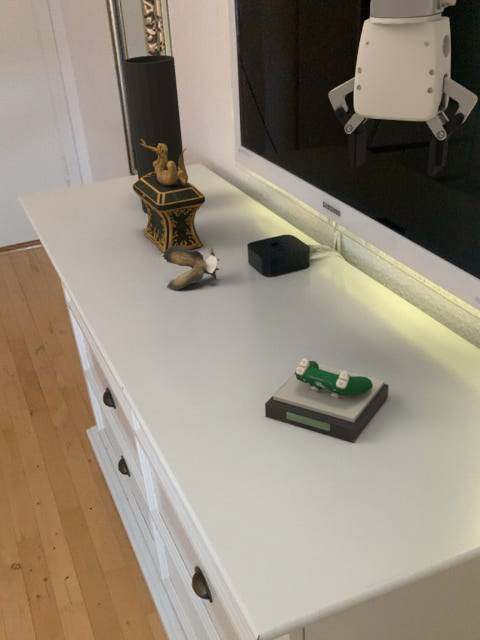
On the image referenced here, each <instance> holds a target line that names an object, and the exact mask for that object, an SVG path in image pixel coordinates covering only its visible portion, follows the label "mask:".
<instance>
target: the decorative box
mask: <svg viewBox="0 0 480 640" xmlns="http://www.w3.org/2000/svg"><path fill="white" fill-rule="evenodd" d="M141 140H142V142H143V144H141V143H140V144H141V145H143V146H145V147H146V148H149V149H151V150H153V151H155V152H156V153H157V154H158V159H157V160H156V161H154V162H153V166H154V167H155V172H150V173H149V174H147V175H145V176H143V177H141V178H140V179H137V180H136V181H135V182H133V184H132V190H133V191H134V192H135V194H136V195H137V196H138V198H140V200H141V199H142V200H143V202H144V203H145V205H146V208H147V211H148V213H147V219H148V220H147V224H146V227H145V231H144V236H145V237H146V238H148V240H150V241H151V242H152V244H154V246H156V247H157V248H158V249H159V250H160V251H161V252H162V253H163V254H164V252H165V251H166V249H168V247H172V246H175V245H176V246H177V245H179V246H180V245H181V246H182V247H185V248H187V249H190V250H194V249H198V248H201V247H202V246H203V242H202V240H201V238H200V236H199V234H198V232H197V230H196V229H197V228H196V226H195V217H196V214H197V212H198V210H199V209H201V207H202V206H203V205H204V203H205V202H206V196H205V195H204V194H203V192H202V191H200V190H199V189H198V188H197V187H196V186H195V185H194V184H192V183H191V182H189V175H188V172H187V169H186V168H187V167H186V165H185V161H184V162H183V159H182V155H183V156H184V153H185V152H186V150H187V147H185V148H184V149H183V152H182V154H181V155H180V159H179V162H178V165H179V167H178V171H177V168H176V165H175V163H174V162H173V161H169V162H168V159H167V153H168V148H167V146H166V144H162V143H159V144H158V146H157V148H155V147H151V146H147V145H146V143H145V141H144V140H143V139H141ZM167 167H168V171H167V170H166V169H167ZM151 174H154V175H151ZM183 178H184V179H183Z"/></svg>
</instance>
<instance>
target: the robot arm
mask: <svg viewBox="0 0 480 640" xmlns="http://www.w3.org/2000/svg"><path fill="white" fill-rule="evenodd" d="M456 3H457V0H370V3H369V4H370V8H369V18H367V19H366V20H364V21H363V26H362V30H361V34H360V40H359V45H358V51H357V57H356V64H355V72H354V73H355V74H354V77H352V78H350V79H349V80H347V81H345V82H344V83H342V84H339V85H338V86H336V87H335V88H333V89H332V90H330V91H328V95H327V97H328V99H329V101H330V104H331V106H332V109H333V111H334V115H335V117H336V119H337V120H338V121H339V122H340V124H341V125H342V126H343V127H344V128H343V129H344V132H345V133H346V134H347V135H348V136H347V158H348V160H350V162H349V168H350V169H357V168H358V167H360V166H362V165H363V164H364V163H365V162H366V152H367V151H366V149H367V130H366V128H364V124H365V123H366V122H367V121H368V120H369V119H375V120H391V121H394V120H395V121H408V122H425V123H426V124H427V126H428V128H429V129H430V130H431V132H432V133H433V138H432V139H431V140H430V142H429V151H428V160H427V172H426V174H427V175H428V176H430V177H434V176H435V175H437V174H438V173H439V172H440V171H441V169H442V168H443V167H445V165H446V163H447V156H448V146H449V138H450V137H449V136H450V135H451V134H453V133H454V131H456V130H457V129H458V128H459V127H460V126H462V124H464V123H465V122H466V121H467V118H468V116H469V115H470V114H471V112H472V110H473V109H474V108H475V106H476V104H477V102H478V100H479V98H478V96H477V94H475V93H474V92H472V91H471V90H469V89H467V88H466V87H465V86H463V85H461V83H458V82H456V81H455V80H453V79H452V78H451V67H452V65H451V63H452V61H451V60H452V59H451V58H452V47H451V46H452V44H451V43H452V41H451V25H450V17H449V16H442V12H444V10H445V8H448V7H449V6H456ZM352 92H353V109H354V110H353V111H354V112H355V113H354V112H353V111H352V109H351V108H350V107H349V106H348V105H347V101H346V96H347V95H348V94H351V93H352ZM450 98H451V99H452V100H454V101H456V102H457V103H458V108H457V110H456V112H455V114H454V115H453V116H452V117H451V118H449V117H448V116H447V115H446V113H445V111H446V109H447V108H448V105H449V100H450Z"/></svg>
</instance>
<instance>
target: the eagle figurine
mask: <svg viewBox="0 0 480 640" xmlns="http://www.w3.org/2000/svg"><path fill="white" fill-rule="evenodd" d="M162 257H163V260H166V263H169V264H173V265H177V266H180V267H190V268H191V269H190V270H188V271H185V272H184V273H181V274H180V275H178V276H177V277H176V278H175V279H172V280H170V281H169V282H168V283H167V285H166V288H167V289H172V290H173V291H174V290H176V291H177V290H181V289H183V288H185V287H187V286H189V285H190V284H192V283H194V282H195V283H196V282H197V283H198V282H199V281H201V280H202V279H203V278H204V274H206V275H210V276H212V278H213V280H217V274H216V272H217V271H220V268H218V263H219V261H220V258H217V257H216V255H215V253H214V248H213V247H211V248H210V255H209V256H208V257H207V258H206V259H204V255H203V254H202V253H201V252H200V251H198V250H197V249H195V250H194V249H187V248H185V247H182V246H181V245H180V246H179V245H177V246H176V245H175V246H172V247H168V249H166V251H165V252H164V253H163V255H162Z"/></svg>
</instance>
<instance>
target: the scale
mask: <svg viewBox="0 0 480 640" xmlns="http://www.w3.org/2000/svg"><path fill="white" fill-rule="evenodd" d="M318 366H319V369H321V370H324V371H327V372H330V373H334V374H337V375H338V374H341V372H342V371H345V370H344V369H341V368H337V367H332V366H328V365H324V364H320V363H318ZM346 371H347V372H348V374H349V376H363V377H367V378H369V379H370V380H371V382H372V385H373V387H372V388H371V389H370V390H369V391H367V392H366V393H363V394H361V395H356V396H344V395H342V396H339V395H338V396H339V398H336V397H333V396H331V394H333V393H332V392H331V391H330V390H328V389H325V388H322V389H318V390H319V391H314V390H312V389H311V387H313V386H311V385H310V383H304V382H302V380H301V381H300V380H297V377H296V375H295V373H294V374H293V375H292V376H291V377H290V378H289V379H288V380H287V381H286V382H285V383H284V384H283V385H282V386H281V387H280V388H279V389H278V390H277V391H276V392H275V393H274V394H273V395H272V396H271V397H269V399H268V400H267V401H266V402H265V404H264V412H265V415H264V416H265V417H266V418H269V419H271V420H272V419H273V420H276V421H279V422H283V423H287V424H289V425H292V426H296V427H300V428H302V429H305V430H310V431H313V432H317V433H320V434H321V435H322V434H323V435H325V436H330V437H333V438H336V439H339V440H342V441H346V442H350V443H354V442H355V441H356V439H357V438H358V437H359V435H360V434H361V433H362V431H363V430H364V429H365V428H366V426H367V425H368V424H369V422H370V421H371V420H372V419H373V417H374V416H375V415H376V413H377V412H378V411H379V409H380V408H381V407H382V405H384V403H385V402H386V401H387V399H388V397H389V387H390V386H389V384H387V383H385V382H386V381H385V380H384V379H380V378H376V377H373V376H368V375H365V374H361V373H356V372H352V371H348V370H346Z"/></svg>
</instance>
